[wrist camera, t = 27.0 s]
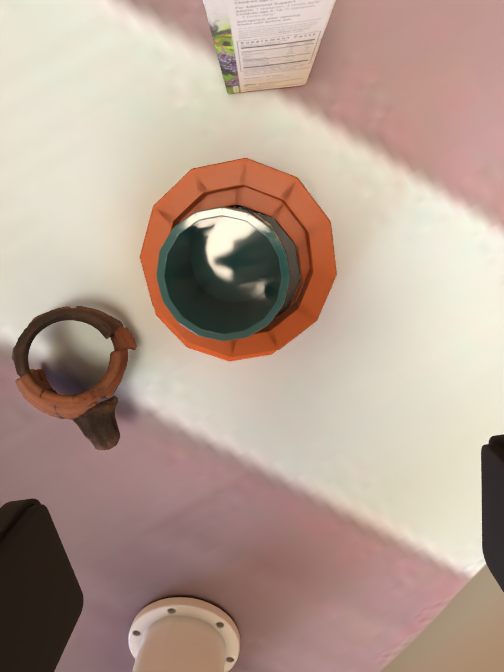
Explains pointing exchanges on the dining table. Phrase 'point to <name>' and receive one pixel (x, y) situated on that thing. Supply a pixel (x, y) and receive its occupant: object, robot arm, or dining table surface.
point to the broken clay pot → (83, 406)
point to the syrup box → (267, 40)
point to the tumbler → (223, 273)
